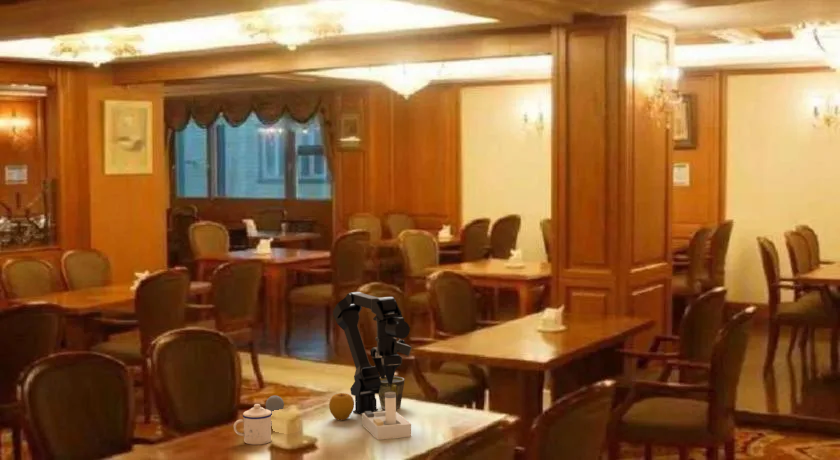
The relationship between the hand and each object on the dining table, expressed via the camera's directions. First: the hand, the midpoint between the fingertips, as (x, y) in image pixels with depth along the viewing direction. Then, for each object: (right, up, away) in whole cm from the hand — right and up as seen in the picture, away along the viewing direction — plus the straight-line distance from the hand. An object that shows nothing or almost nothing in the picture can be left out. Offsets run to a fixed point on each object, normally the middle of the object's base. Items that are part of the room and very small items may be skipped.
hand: (386, 381), depth 369 cm
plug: (+2, -15, -18) cm, 23 cm away
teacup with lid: (-41, -16, -23) cm, 50 cm away
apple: (-15, -13, +2) cm, 20 cm away
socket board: (0, -14, -13) cm, 19 cm away
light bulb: (-37, -14, -4) cm, 39 cm away
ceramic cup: (+1, -12, +16) cm, 20 cm away
